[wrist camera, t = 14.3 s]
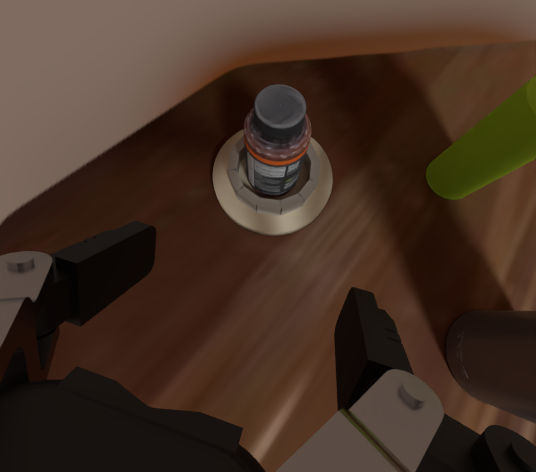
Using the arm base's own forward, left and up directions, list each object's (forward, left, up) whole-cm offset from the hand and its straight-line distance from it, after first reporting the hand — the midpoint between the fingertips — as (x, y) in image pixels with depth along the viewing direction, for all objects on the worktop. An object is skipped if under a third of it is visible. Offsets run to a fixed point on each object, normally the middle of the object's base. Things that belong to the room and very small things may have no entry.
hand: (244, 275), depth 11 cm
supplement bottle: (0, -14, -18) cm, 22 cm away
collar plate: (-1, -14, -19) cm, 24 cm away
